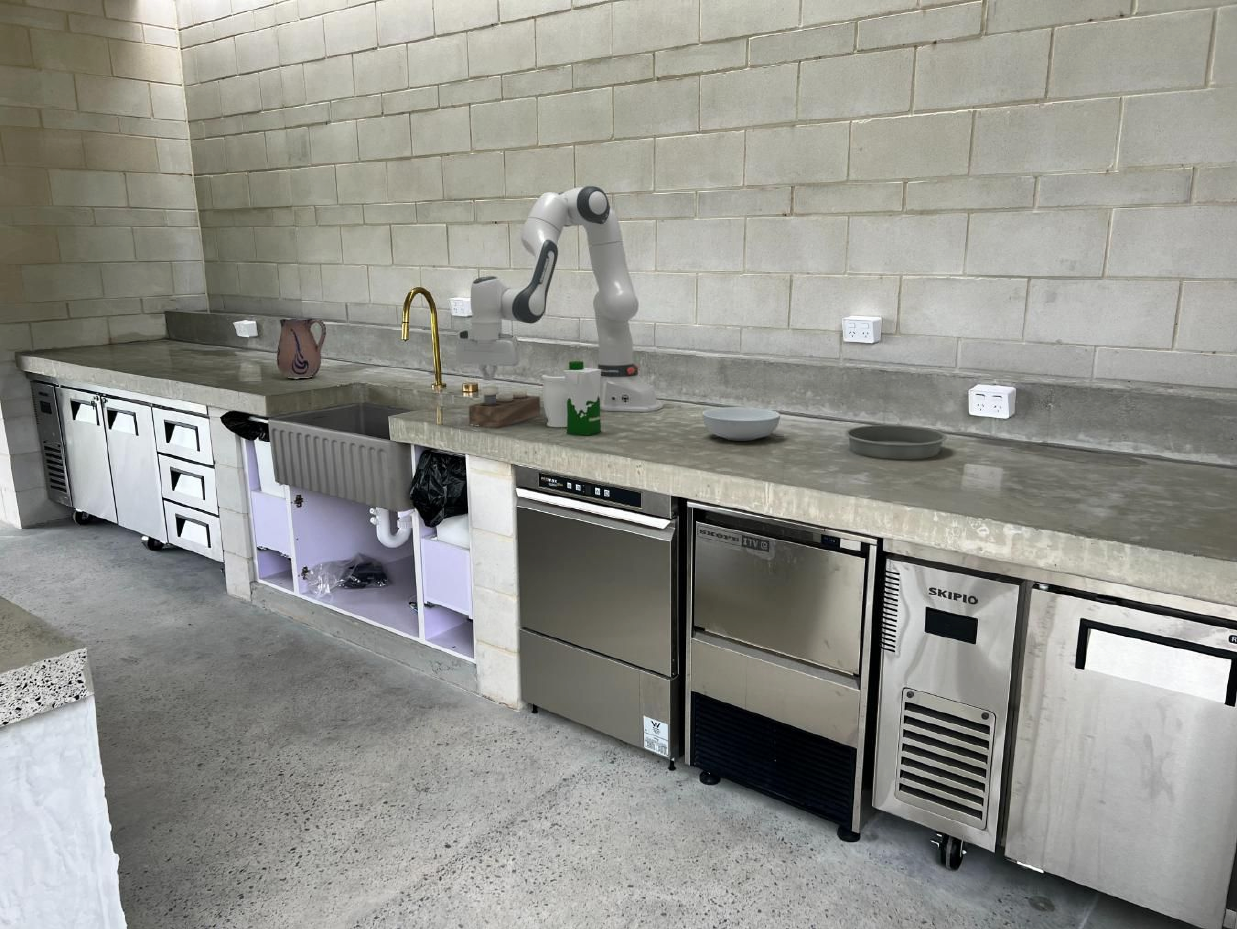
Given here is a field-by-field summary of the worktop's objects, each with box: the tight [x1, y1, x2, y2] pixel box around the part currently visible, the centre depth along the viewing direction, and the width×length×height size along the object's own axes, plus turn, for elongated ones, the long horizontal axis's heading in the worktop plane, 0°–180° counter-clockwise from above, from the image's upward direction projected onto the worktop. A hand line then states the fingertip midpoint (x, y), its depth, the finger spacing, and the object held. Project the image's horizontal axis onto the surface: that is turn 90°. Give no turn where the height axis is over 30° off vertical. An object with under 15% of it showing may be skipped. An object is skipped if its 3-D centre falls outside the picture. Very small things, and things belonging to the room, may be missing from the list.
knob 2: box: [510, 388, 528, 399], centre depth 290 cm, size 5×5×6 cm
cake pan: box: [844, 424, 948, 460], centre depth 234 cm, size 25×25×4 cm
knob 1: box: [481, 385, 499, 407], centre depth 276 cm, size 5×5×6 cm
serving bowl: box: [701, 406, 781, 442], centre depth 252 cm, size 21×21×7 cm
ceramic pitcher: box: [276, 317, 327, 378], centre depth 390 cm, size 18×21×25 cm
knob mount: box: [468, 395, 541, 429], centre depth 284 cm, size 10×24×6 cm, turn 154°
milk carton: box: [563, 360, 602, 437], centre depth 261 cm, size 9×9×20 cm
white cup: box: [541, 372, 567, 428], centre depth 273 cm, size 11×10×15 cm
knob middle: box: [496, 392, 513, 403], centre depth 283 cm, size 5×5×6 cm
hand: (488, 380), depth 275 cm, fingers closed
